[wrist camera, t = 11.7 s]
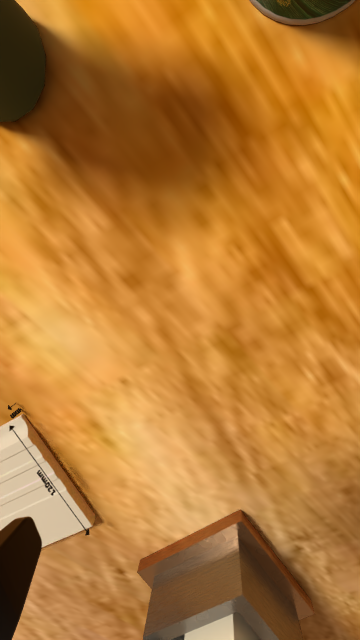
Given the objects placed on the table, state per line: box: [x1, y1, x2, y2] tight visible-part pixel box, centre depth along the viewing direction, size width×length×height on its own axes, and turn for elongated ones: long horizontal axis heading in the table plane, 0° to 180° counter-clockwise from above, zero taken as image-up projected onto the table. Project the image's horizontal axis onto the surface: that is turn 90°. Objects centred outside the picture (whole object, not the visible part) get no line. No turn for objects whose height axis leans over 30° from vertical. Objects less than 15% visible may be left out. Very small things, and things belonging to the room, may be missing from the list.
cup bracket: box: [137, 510, 315, 640], centre depth 22 cm, size 10×10×6 cm
